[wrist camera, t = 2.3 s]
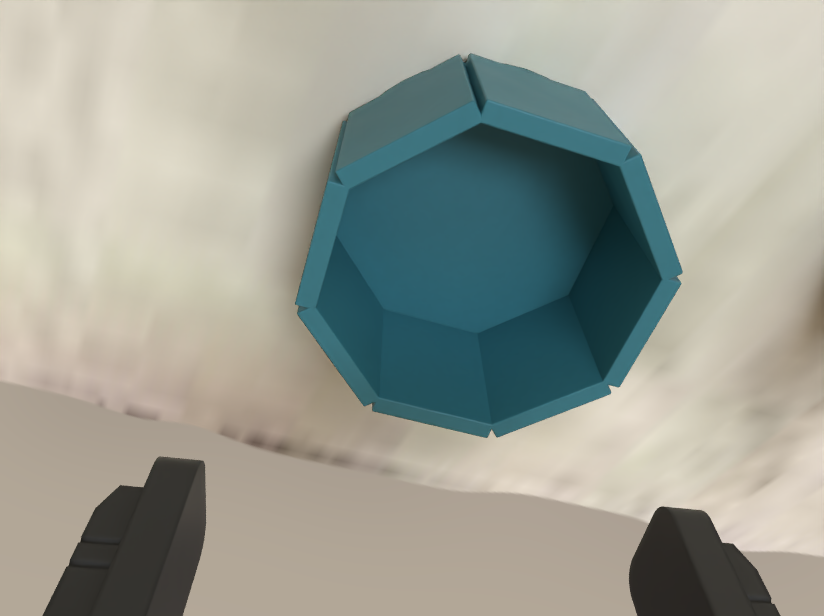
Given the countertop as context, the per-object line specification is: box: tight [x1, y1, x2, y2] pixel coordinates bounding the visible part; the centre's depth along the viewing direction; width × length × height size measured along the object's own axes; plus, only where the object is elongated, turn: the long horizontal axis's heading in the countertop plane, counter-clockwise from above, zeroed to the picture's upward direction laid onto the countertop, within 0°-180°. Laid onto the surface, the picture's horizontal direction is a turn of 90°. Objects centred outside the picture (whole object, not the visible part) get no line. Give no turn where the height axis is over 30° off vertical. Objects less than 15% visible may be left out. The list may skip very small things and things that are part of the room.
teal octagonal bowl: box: [295, 54, 683, 438], centre depth 29 cm, size 14×14×8 cm
